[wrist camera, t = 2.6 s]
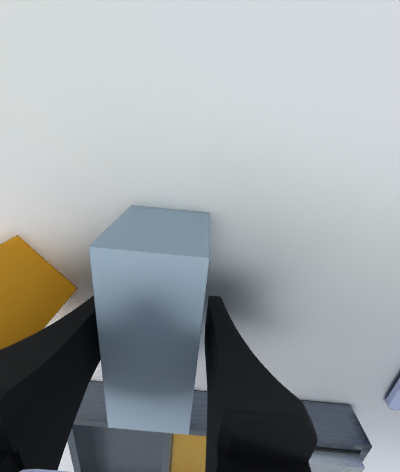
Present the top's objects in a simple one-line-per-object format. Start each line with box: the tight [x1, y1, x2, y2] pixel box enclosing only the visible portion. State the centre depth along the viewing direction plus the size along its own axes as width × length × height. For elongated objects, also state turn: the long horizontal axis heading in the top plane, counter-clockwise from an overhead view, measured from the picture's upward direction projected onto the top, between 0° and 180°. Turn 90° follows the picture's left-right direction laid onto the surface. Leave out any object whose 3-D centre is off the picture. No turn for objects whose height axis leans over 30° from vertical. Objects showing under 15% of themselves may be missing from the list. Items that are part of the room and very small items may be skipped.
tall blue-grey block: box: [89, 206, 209, 435], centre depth 12 cm, size 4×10×5 cm, turn 175°
